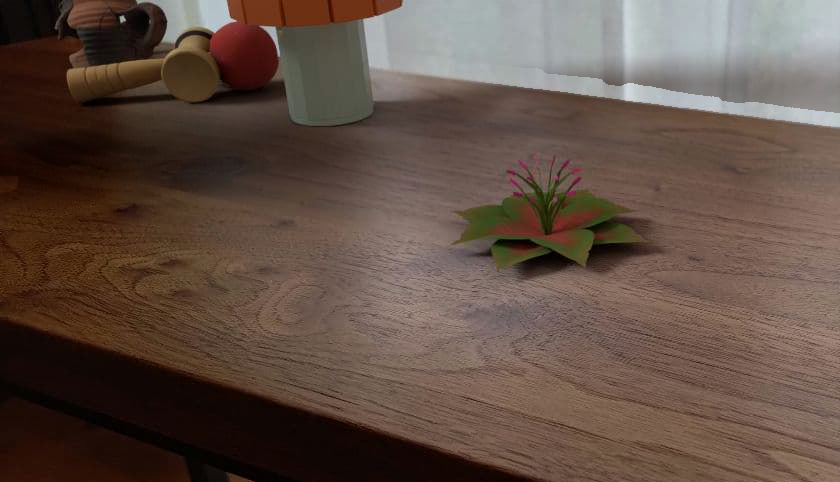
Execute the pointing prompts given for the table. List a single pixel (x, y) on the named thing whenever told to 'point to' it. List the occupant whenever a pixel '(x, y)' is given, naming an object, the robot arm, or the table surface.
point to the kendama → (189, 66)
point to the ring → (306, 11)
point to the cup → (326, 73)
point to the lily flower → (546, 222)
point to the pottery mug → (111, 30)
